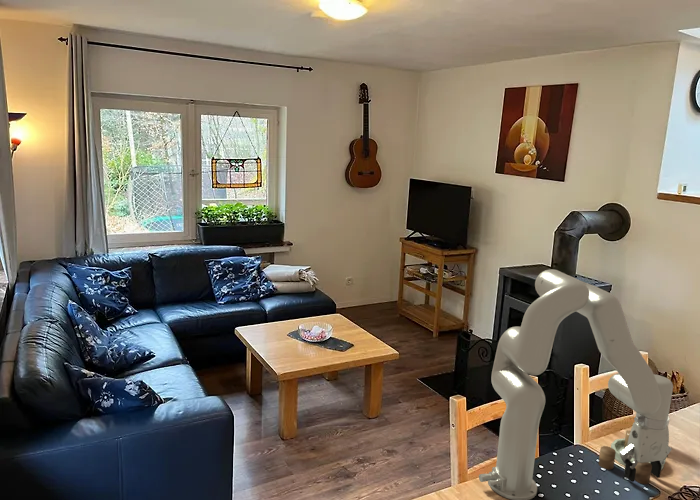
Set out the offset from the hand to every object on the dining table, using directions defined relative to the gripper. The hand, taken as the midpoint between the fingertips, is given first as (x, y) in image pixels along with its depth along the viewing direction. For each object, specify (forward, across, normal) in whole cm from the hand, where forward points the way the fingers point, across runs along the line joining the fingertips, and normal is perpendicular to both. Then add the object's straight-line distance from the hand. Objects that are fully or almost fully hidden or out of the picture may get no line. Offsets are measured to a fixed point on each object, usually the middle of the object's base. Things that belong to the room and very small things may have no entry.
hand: (641, 476), depth 148 cm
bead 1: (+1, -5, +8) cm, 9 cm away
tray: (+1, +7, +9) cm, 11 cm away
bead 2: (+1, 0, 0) cm, 1 cm away
